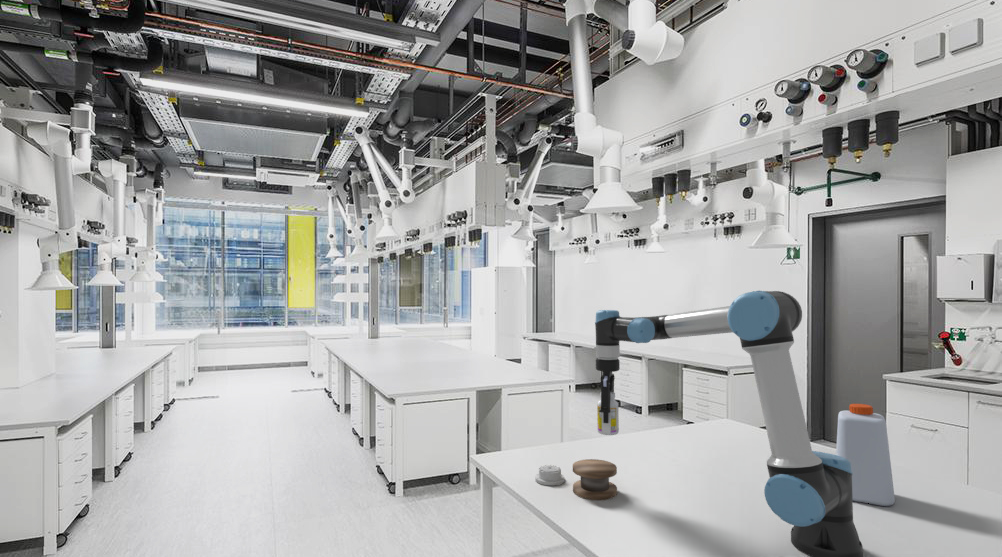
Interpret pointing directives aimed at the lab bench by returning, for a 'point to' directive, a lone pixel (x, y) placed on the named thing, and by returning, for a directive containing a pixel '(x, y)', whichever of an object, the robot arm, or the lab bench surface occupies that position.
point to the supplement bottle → (613, 416)
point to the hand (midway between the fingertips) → (607, 429)
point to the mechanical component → (549, 475)
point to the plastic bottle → (866, 454)
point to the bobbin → (594, 479)
